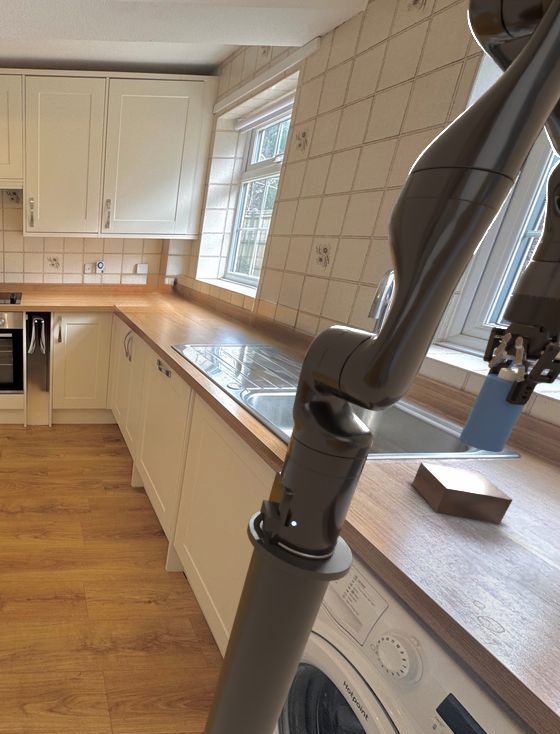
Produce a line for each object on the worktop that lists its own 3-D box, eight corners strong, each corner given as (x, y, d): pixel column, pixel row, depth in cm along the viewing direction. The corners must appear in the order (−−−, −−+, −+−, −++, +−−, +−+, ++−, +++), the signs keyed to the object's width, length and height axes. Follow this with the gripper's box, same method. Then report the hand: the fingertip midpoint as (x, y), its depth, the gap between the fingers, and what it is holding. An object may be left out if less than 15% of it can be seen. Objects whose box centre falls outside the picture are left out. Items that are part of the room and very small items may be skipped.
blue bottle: (470, 448, 69) (504, 373, 64) (452, 434, 74) (483, 363, 69) (510, 454, 67) (549, 378, 63) (489, 440, 72) (523, 367, 67)
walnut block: (435, 511, 72) (446, 488, 71) (411, 484, 80) (420, 462, 79) (500, 524, 70) (512, 499, 68) (468, 494, 78) (479, 471, 76)
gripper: (489, 285, 69) (450, 379, 75) (556, 298, 56) (502, 410, 62) (546, 289, 67) (501, 385, 73) (630, 302, 54) (567, 418, 60)
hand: (502, 396), depth 67 cm, fingers closed on blue bottle, 5 cm apart
